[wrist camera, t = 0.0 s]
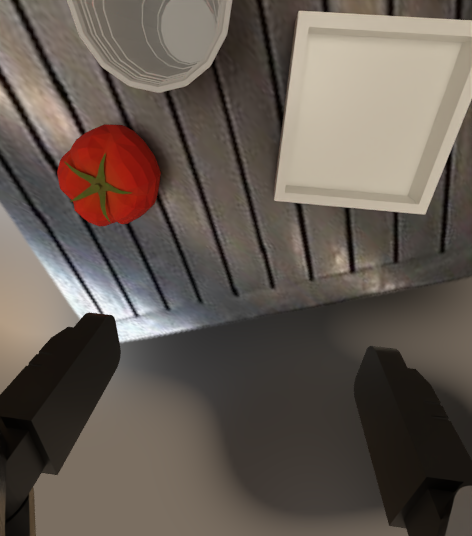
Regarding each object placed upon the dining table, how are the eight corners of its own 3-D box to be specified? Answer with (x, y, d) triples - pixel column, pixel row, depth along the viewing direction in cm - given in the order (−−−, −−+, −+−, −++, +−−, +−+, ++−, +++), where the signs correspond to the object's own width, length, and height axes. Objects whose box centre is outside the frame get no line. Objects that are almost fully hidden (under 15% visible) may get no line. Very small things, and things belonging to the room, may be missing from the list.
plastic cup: (269, 25, 28) (268, -12, 18) (196, 116, 33) (162, 127, 23) (182, -88, 25) (121, -211, 15) (114, 29, 30) (31, -3, 20)
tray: (295, 20, 28) (298, 10, 25) (473, 30, 27) (502, 22, 24) (273, 190, 36) (274, 200, 33) (410, 202, 35) (425, 214, 32)
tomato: (175, 133, 34) (149, 144, 27) (164, 220, 40) (140, 250, 32) (84, 107, 34) (30, 112, 26) (85, 199, 39) (42, 225, 32)
